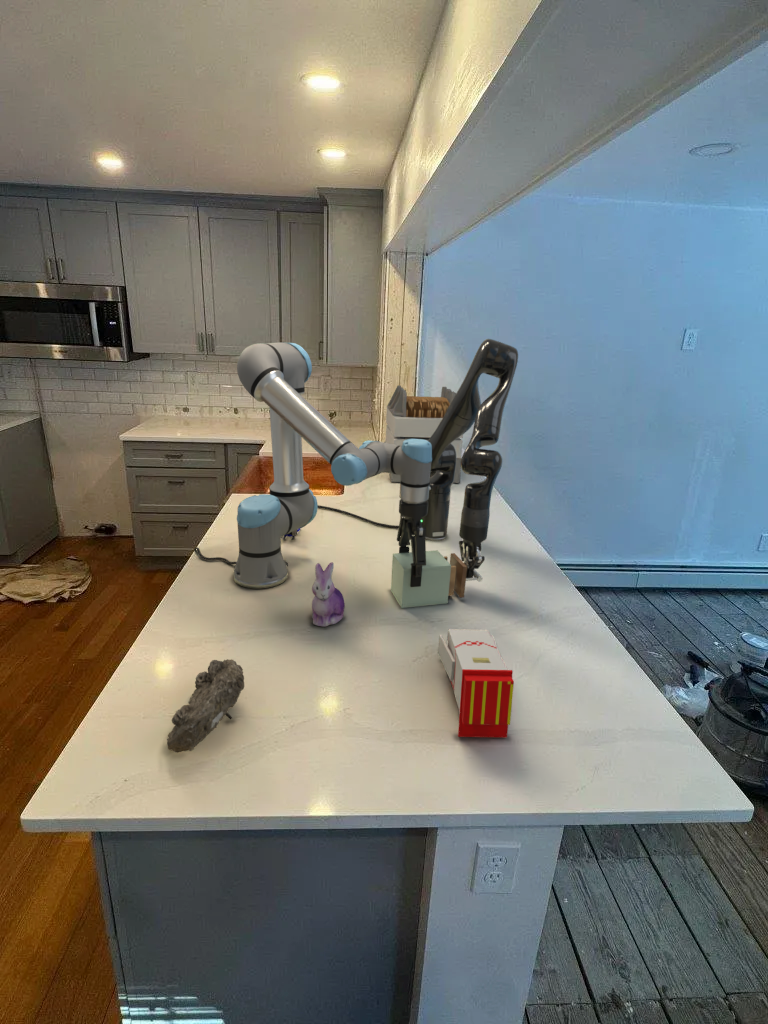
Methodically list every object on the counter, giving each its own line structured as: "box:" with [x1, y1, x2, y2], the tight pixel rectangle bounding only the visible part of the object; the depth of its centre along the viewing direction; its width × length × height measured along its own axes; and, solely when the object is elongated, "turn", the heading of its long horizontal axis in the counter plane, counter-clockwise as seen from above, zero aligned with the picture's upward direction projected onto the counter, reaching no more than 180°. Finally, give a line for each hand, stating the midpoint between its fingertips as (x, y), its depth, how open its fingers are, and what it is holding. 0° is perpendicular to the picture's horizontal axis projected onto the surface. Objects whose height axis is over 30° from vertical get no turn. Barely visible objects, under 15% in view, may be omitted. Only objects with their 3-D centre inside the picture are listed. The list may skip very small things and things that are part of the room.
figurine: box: [311, 561, 346, 627], centre depth 141 cm, size 9×10×15 cm
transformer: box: [383, 384, 464, 484], centre depth 268 cm, size 34×33×41 cm
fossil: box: [166, 658, 245, 754], centre depth 106 cm, size 22×10×15 cm
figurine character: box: [282, 528, 302, 541], centre depth 194 cm, size 7×8×15 cm
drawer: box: [443, 552, 484, 598], centre depth 157 cm, size 17×9×9 cm, turn 106°
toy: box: [437, 628, 515, 738], centre depth 117 cm, size 12×13×30 cm
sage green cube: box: [390, 549, 451, 609], centre depth 155 cm, size 13×10×11 cm
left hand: (409, 577), depth 154 cm, fingers closed on sage green cube, 10 cm apart
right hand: (468, 579), depth 159 cm, fingers closed
